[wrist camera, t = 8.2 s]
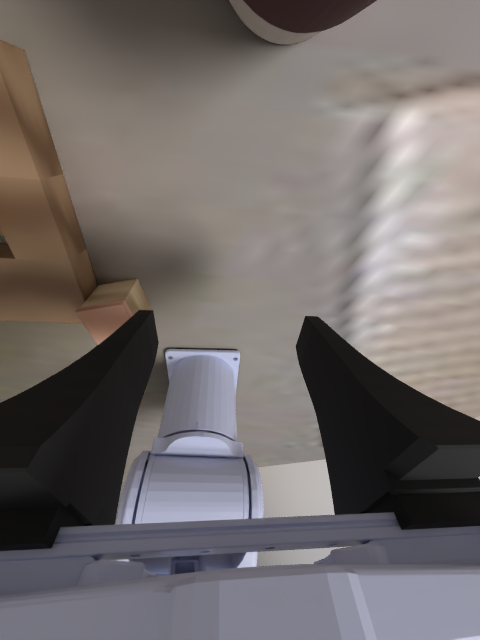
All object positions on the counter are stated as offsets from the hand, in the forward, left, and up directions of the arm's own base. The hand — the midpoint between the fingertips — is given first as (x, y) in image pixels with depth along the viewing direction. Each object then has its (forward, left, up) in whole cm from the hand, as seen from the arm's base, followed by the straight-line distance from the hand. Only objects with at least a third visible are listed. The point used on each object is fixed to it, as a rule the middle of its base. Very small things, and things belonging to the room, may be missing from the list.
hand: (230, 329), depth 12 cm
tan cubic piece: (-5, +9, -10) cm, 14 cm away
